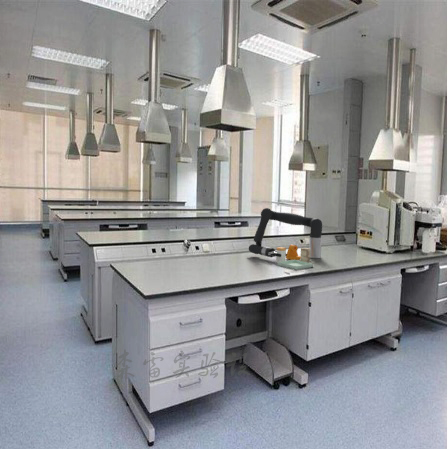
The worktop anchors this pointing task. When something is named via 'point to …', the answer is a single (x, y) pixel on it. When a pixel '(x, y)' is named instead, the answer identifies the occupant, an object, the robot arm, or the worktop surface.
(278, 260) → the labelled box
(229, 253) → the worktop surface
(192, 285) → the worktop surface
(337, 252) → the worktop surface
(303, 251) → the plain box
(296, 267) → the tray
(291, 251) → the bracket
